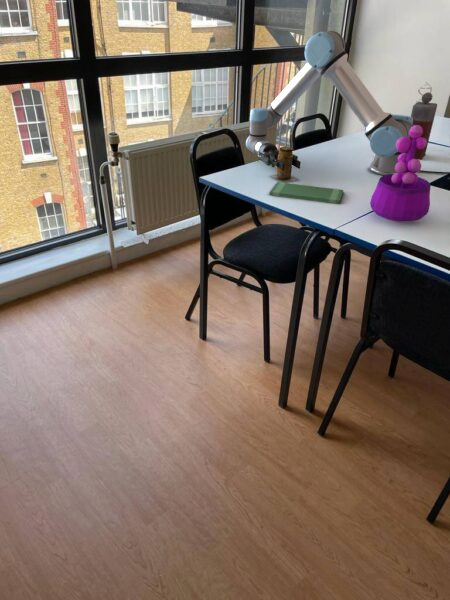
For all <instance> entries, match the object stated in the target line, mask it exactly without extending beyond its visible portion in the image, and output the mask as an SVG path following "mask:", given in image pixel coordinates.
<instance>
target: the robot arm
mask: <svg viewBox="0 0 450 600" xmlns="http://www.w3.org/2000/svg"><path fill="white" fill-rule="evenodd" d="M345 49H346V44H345V39H344V37H343V36H342V34H340V32H337V31H335V30H327V31H318V32H317V33H315V34H313V35H312V36H310V38H309V39H308V40H307V42H306V44H305V47H304V59H305V62H306V63H305V64H304V65H303V67H301V69H300V70H299V71H298V72H297V73H296V74H295V76H294V77H293V78H292V79H291V80H290V81H289V82H288V84H287V85H286V86H285V87H284V88H283V89H282V91H281V92H280V93H278V95H277V96H276V97H275V98H274V100H272V102H271V103H270V104H269V105H268V106H267V107H253V108H251V109H250V114H249V115H250V116H249V136H248V137H247V138H246V141H245V147H246V149H247V150H249V152H250V153H252V154H254V155H255V156H257V157H258V160H259V161H261V162H263V163H264V164H265V165H266V166H268V167H269V166H271V168H275V167H276V168H277V167H278V168H279V169H281V170H282V171H283V170H284V166H285V163H283V162H281V161H280V160H278V155H279V149H278V147H277V146H276V145H275V144H274V143H271V142H270V141H268V140H267V130H268V128H271V127H272V126H275V125H277V124H278V123H280V122H281V120H282V117H283V116H284V115H285V114H286V113H287V112H288V110H289V109H291V108H292V107H293V105H294V104H295V103H296V102H297V101H298V100H299V99H300V98H301V97H302V95H304V93H305V92H306V91H307V90H308V89H309V88H310V87H311V86H312V85H313V83H314V82H316V81H317V79H318V78H319V77H320V76H321V78H326V79H329V81H330V82H331V83H332V84H333V86H334V87H335V89H336V90H337V91H338V93H339V94H340V96H341V97H342V98H343V100H344V101H345V103H346V104H347V105H348V107H349V108H350V110H351V111H352V112H353V114H354V115H355V116H356V117H357V119H358V120H359V122H360V123H361V124H362V126H363V127H364V135H365V137H366V138H367V140H368V142H369V148H370V149H371V151H372V153H374V154H375V155H374V157H373V158H372V160H371V163H370V165H369V171H370V172H371V173H373V174H375V175H378V176H384V175H388V174H396V173H397V172H396V171H395V166H396V164H397V163H398V157H399V155H400V154H402V153H401V152H399V151H398V150H397V149H396V142H397V140H398V139H399V138H402V137H408V138H409V137H410V134H409V130H410V129H411V128H412V126H413V118H412V117H411V115H403V114H392V113H391V112H385V111H384V110H383V109H382V107H381V106H380V105H379V103H378V102H377V101H376V99H375V97H374V96H373V94H372V93H371V92H370V91H369V89H368V88H367V86H366V85H365V84H364V83H363V82H364V81H362V80H361V78H360V76H358V74H357V72H356V71H355V70H354V69H353V67H352V66H351V64H350V63H349V62H348V56H349V55H348V53H347V51H346V50H345ZM404 153H406V152H404ZM292 155H293V161H292V167H294V168H296V169H298V170H300V169H301V163H302V162H301V160H298V159H299V156H298V155H296V154H294V153H292ZM417 173H427V174H439V175H440V174H441V175H448V174H449V175H450V171H434V170H423V169H420V171H418V172H417ZM401 174H403V173H401Z"/></svg>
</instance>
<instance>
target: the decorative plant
mask: <svg viewBox="0 0 450 600" xmlns="http://www.w3.org/2000/svg"><path fill="white" fill-rule="evenodd" d="M422 130H423V129H422V127H421V126H419V125H414V126H413V127H412V128H411V129H410V130H409V134H410V136H411V137H412V138H413V141H412V143H411V140H410V138H408V137H402V138H399V139H398V140H397V142H396V149H397V150H398V151H399V152H401V153H402V154H400V155H399V157H398V163H397V164H396V166H395V171H396V172H397V173H396V174H388V175H384V176H383V175H381V177H379V179H378V180H377V184H376V187H375V189H374V190H373V193H372V194H371V197H370V201H369V206H370V208H371V209H372V211H373V212H374V213H375V215H377V216H379V217H381V218H383V219H386V220H389V221H394V222H399V223H401V222H403V223H405V222H415V221H419V220H421V219H423V218H424V217H425V216H427V215H428V213H429V212H430V206H431V183H430V181H428V180H427V179H425V178H423V177H421V176H418V173H419V172H418V171H420V170H422V163H421V160H418V159H414V154H415V146H416V148H417V149H423V148H424V147H425V146H426V144H427V141H426V139H425V138H421V137H420V136H421V135H422V133H423V131H422ZM418 137H420V138H418ZM416 138H418V139H417V140H416ZM407 151H408V154H407V153H404V152H407ZM401 173H403V174H401Z"/></svg>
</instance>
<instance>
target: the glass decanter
mask: <svg viewBox="0 0 450 600" xmlns="http://www.w3.org/2000/svg"><path fill="white" fill-rule="evenodd" d="M422 95H423V96H422ZM422 95H421V99H422V100H421V101H418V102H417V103H416V102H415V103H416V104H415V103H414V104H413V105H412V108H411V114H410V117H412V118H413V126H414V125H419V126H421V127H422V129H423V130H422V131H423V133H422V135H421V136H420V137H421V138H425V139H426V141H427V144H426V146H425V147H424V148H423V149H417V148H416V146H415V154H414V159H417V160H419V161H422V160H423V159H424V157H425V156H426V154H427V149H428V145H429V141H430V136H431V132H432V129H433V124H434V122H435V121H434V120H435V117H436V112H437V108H438V103H436V102H431V101H433V98H434V96H433V93H432V92H431V93H430V91H427V92H425V93H423V94H422ZM413 126H412V127H413ZM420 137H418V138H420ZM409 138H410V140H411V143H412V141H413V138H412V137H411V136H410V137H409ZM418 138H416V140H417V139H418ZM406 153H407V154H408V151H407V152H406Z"/></svg>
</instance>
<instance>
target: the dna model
mask: <svg viewBox="0 0 450 600" xmlns="http://www.w3.org/2000/svg"><path fill="white" fill-rule="evenodd" d="M425 86H428V87H426V88H425ZM422 89H423V90H424V89H427V90H428V89H429V90H430V91H429V93H431V94H432V90H433V87H432V85H430V84H429V83H428V82H427V81H425V84H423V85H421V86H420V87H419V88H418V90H417V92H418V94H419V95H420V96H421V97H422V96H423V95H424V94H423V93H421V91H420V90H422ZM421 101H422V98H420V99H418V100H416V101H415V103H414V104H416V103H417V102H421Z"/></svg>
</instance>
